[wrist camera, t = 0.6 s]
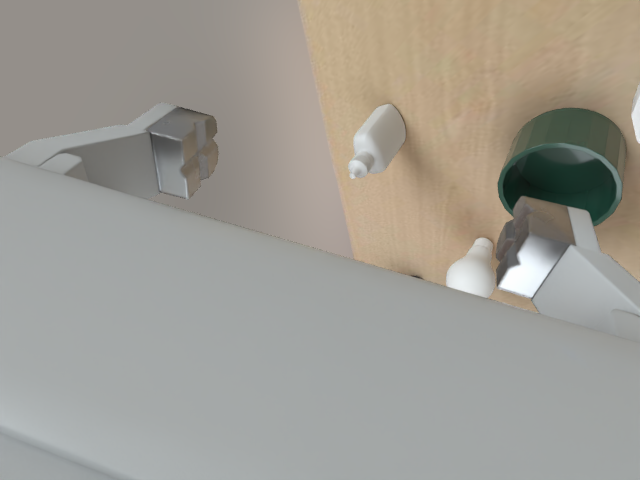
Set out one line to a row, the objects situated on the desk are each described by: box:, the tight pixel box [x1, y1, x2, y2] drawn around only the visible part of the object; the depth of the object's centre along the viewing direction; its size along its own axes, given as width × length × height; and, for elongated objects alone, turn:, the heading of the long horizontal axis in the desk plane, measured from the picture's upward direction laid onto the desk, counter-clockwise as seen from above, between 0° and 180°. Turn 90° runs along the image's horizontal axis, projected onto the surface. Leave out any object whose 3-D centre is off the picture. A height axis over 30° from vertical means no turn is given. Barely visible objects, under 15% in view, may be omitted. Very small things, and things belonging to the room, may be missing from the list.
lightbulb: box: [446, 238, 495, 298], centre depth 58 cm, size 6×6×11 cm
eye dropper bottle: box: [349, 104, 406, 179], centre depth 52 cm, size 4×6×12 cm
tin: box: [498, 108, 626, 226], centre depth 45 cm, size 11×11×7 cm
